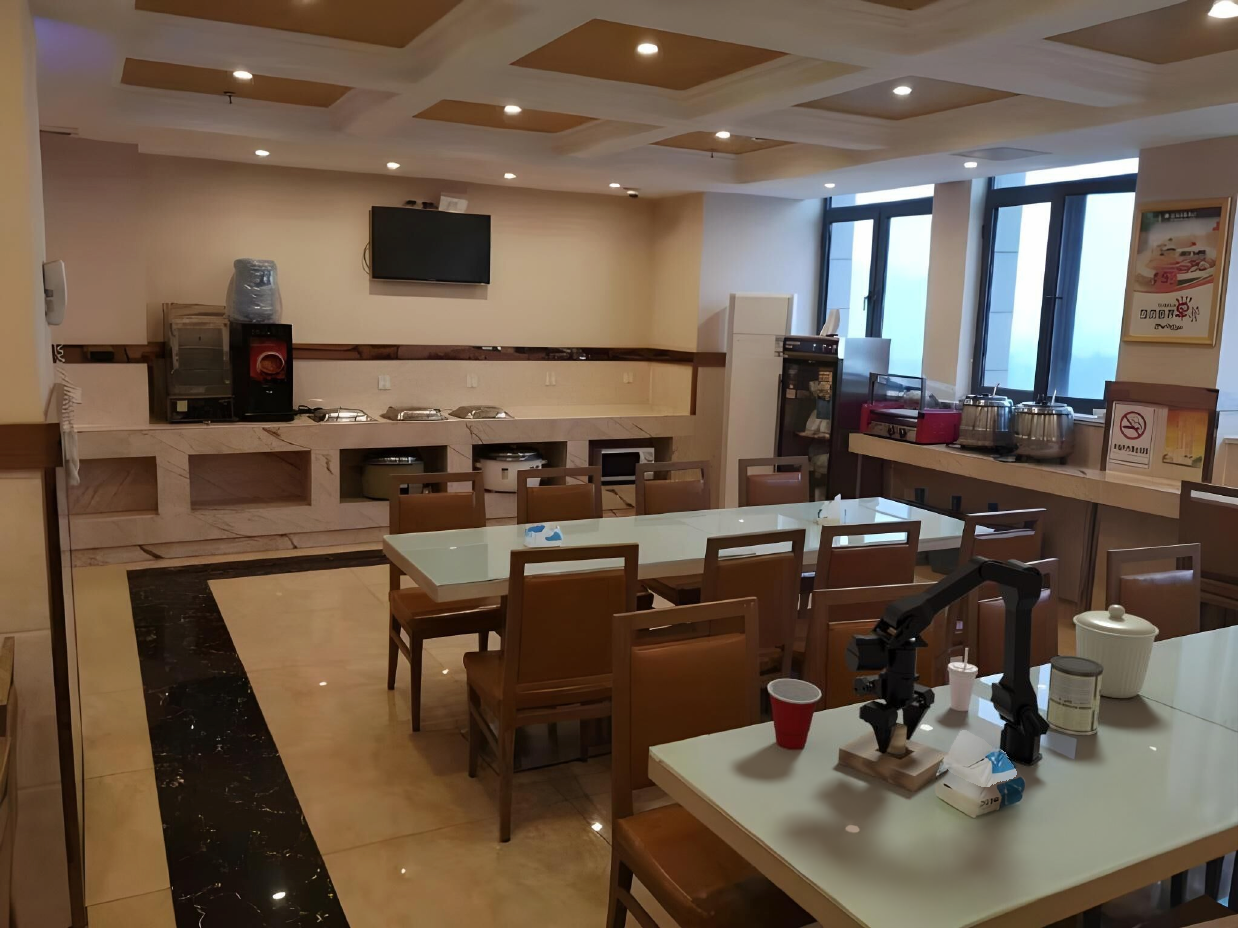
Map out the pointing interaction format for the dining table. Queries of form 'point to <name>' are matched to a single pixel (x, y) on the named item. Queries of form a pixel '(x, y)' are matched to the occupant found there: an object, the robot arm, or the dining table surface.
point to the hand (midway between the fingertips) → (895, 745)
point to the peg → (898, 743)
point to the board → (893, 761)
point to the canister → (1116, 648)
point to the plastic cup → (792, 711)
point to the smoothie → (961, 683)
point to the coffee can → (1074, 695)
